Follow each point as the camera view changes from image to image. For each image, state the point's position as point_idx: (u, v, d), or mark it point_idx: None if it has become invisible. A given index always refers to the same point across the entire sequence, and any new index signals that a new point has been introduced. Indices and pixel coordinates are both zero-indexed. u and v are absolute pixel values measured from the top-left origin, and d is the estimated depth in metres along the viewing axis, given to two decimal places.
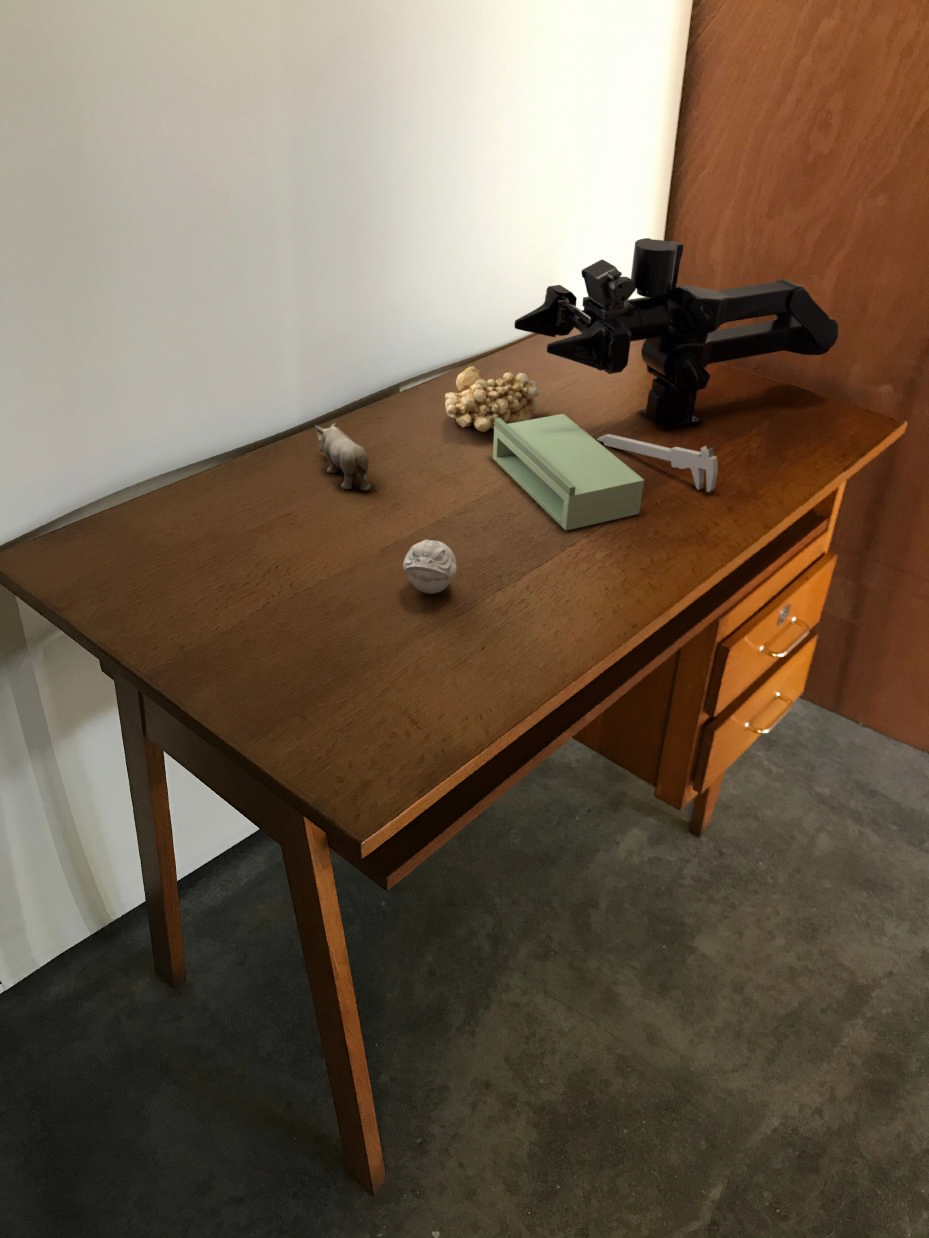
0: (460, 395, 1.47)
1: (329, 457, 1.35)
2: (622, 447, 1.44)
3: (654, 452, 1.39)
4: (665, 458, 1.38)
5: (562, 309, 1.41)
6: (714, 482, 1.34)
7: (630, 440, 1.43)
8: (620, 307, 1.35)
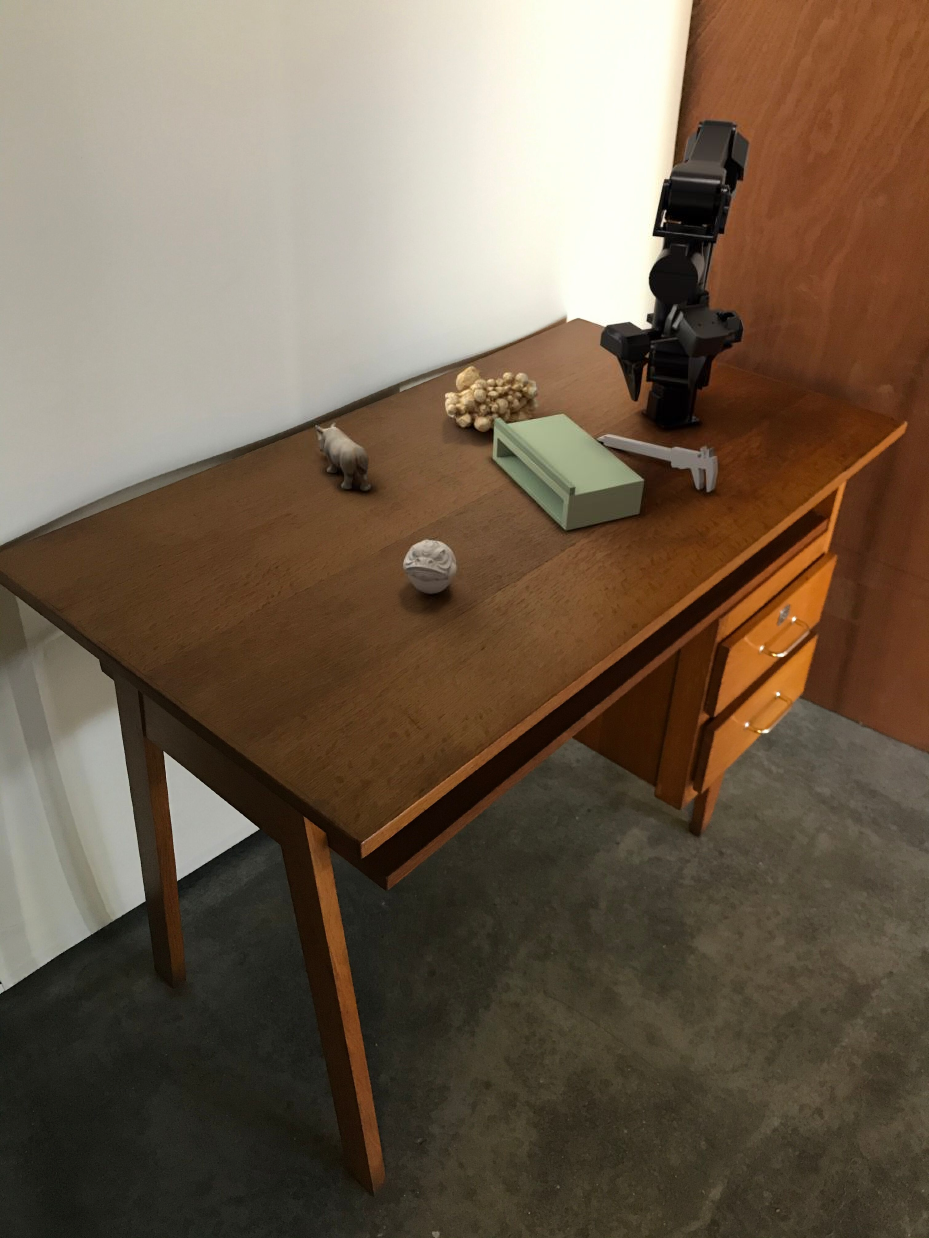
0: (460, 395, 1.47)
1: (329, 457, 1.35)
2: (622, 447, 1.44)
3: (654, 452, 1.39)
4: (665, 458, 1.38)
5: None
6: (714, 482, 1.34)
7: (630, 440, 1.43)
8: None
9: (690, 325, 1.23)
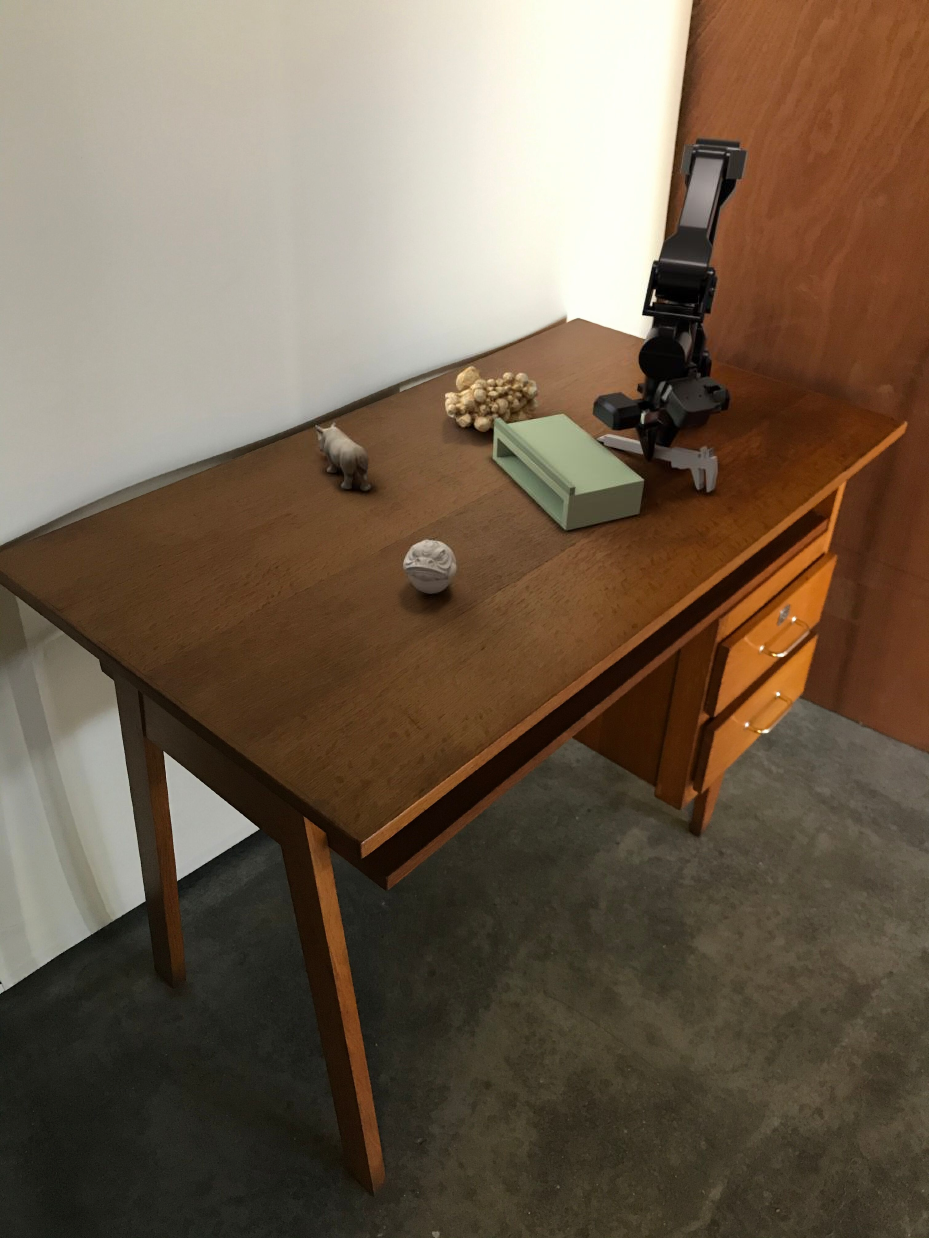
0: (460, 395, 1.47)
1: (329, 457, 1.35)
2: (622, 447, 1.44)
3: (654, 452, 1.39)
4: (665, 458, 1.38)
5: None
6: (714, 482, 1.34)
7: (630, 440, 1.43)
8: None
9: (678, 398, 1.28)
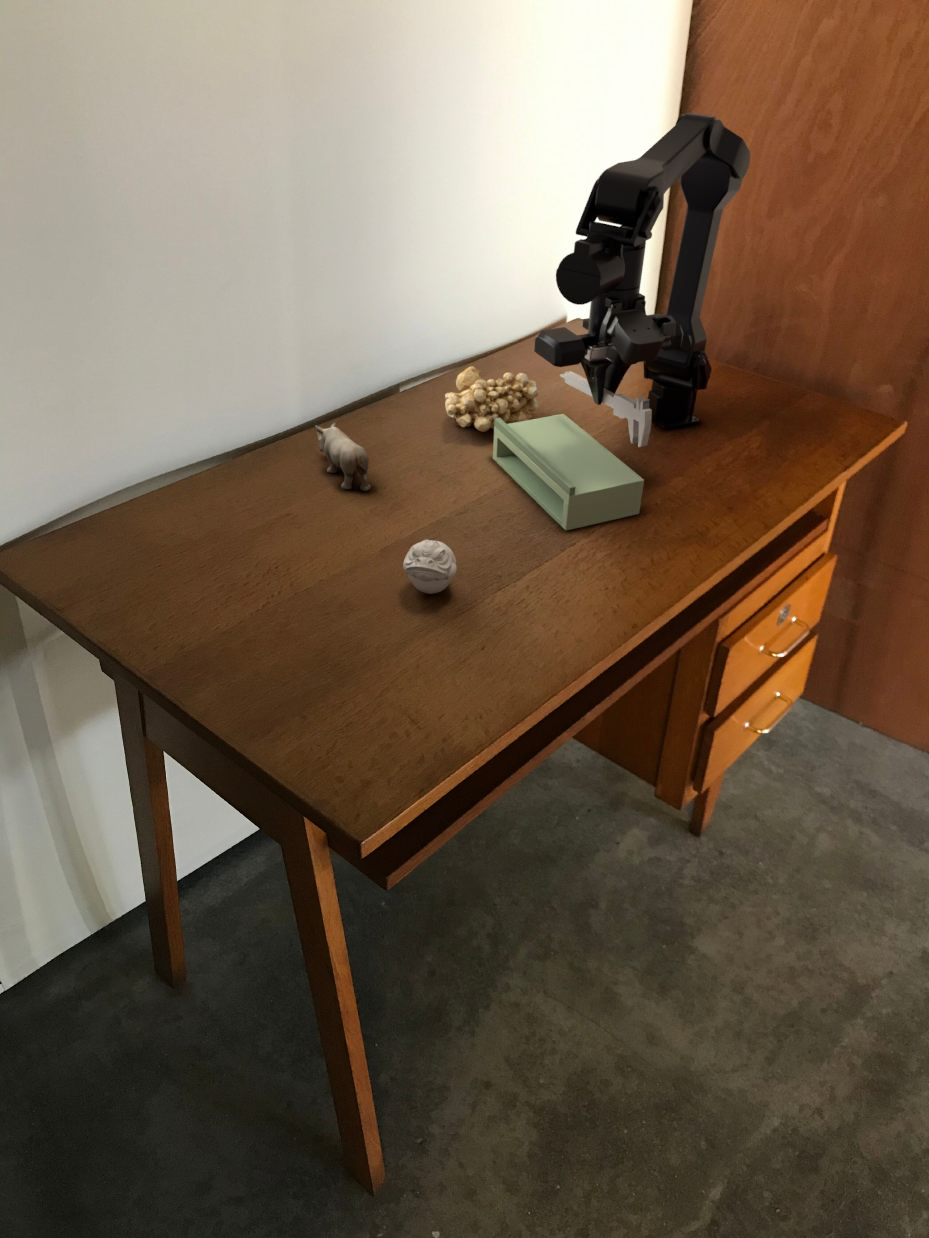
0: (460, 395, 1.47)
1: (329, 457, 1.35)
2: (578, 387, 1.35)
3: None
4: (609, 404, 1.29)
5: None
6: (646, 437, 1.24)
7: (586, 381, 1.33)
8: None
9: (625, 330, 1.19)
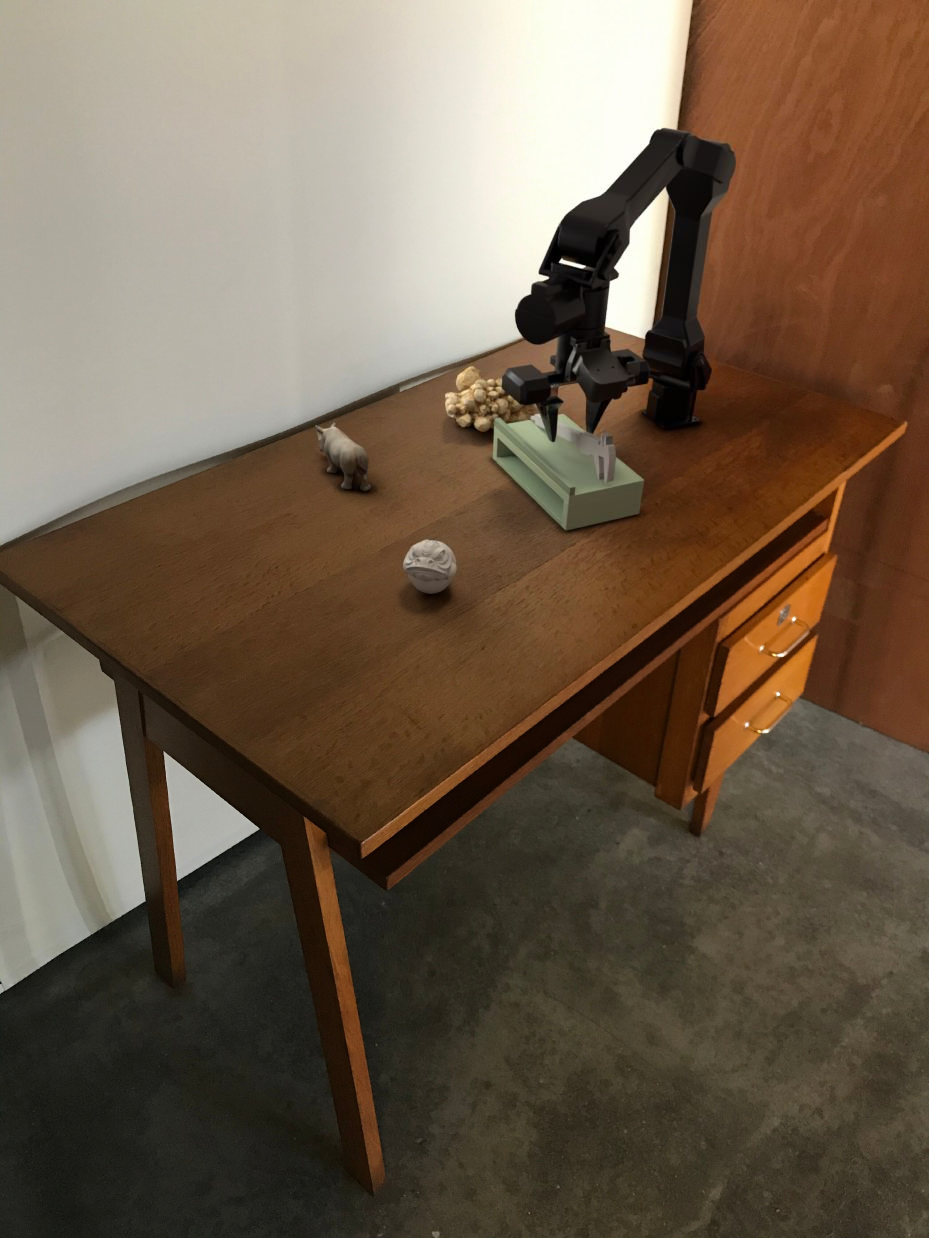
0: (460, 395, 1.47)
1: (329, 457, 1.35)
2: None
3: (568, 435, 1.32)
4: (576, 442, 1.30)
5: None
6: (612, 473, 1.25)
7: None
8: None
9: (588, 370, 1.20)
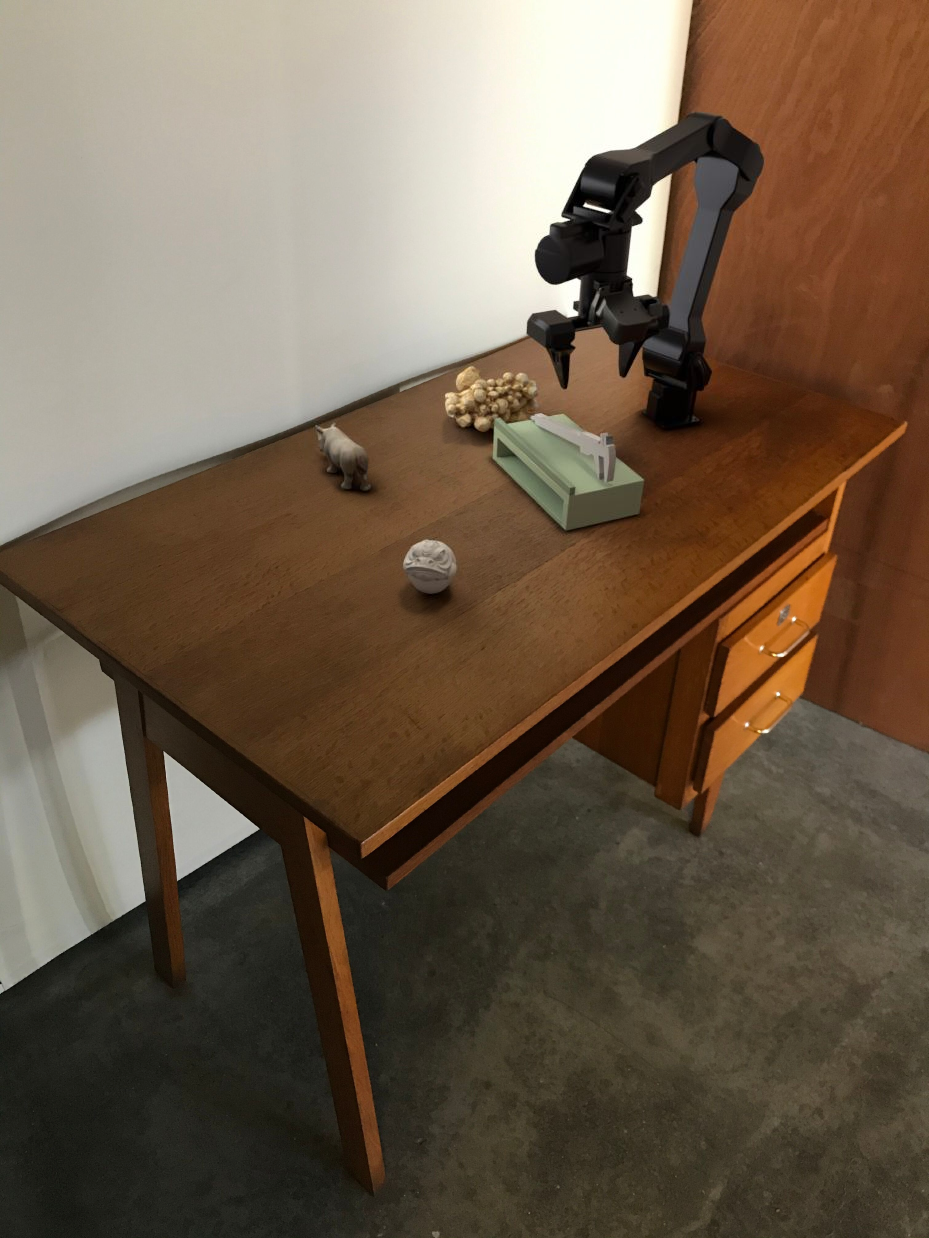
0: (460, 395, 1.47)
1: (329, 457, 1.35)
2: (547, 428, 1.37)
3: (568, 435, 1.32)
4: (576, 442, 1.30)
5: None
6: (612, 473, 1.25)
7: (554, 421, 1.35)
8: None
9: (612, 312, 1.23)
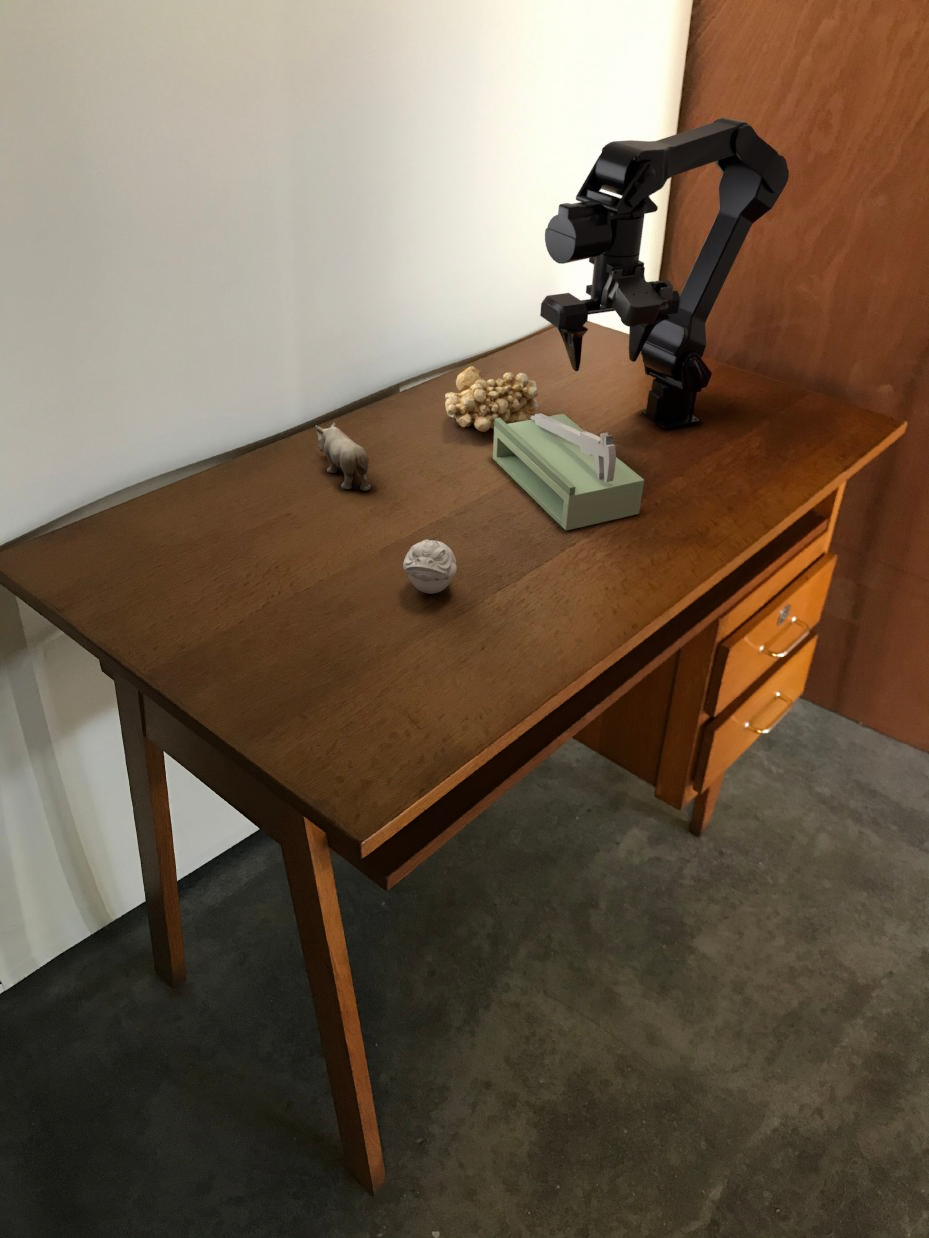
0: (460, 395, 1.47)
1: (329, 457, 1.35)
2: (547, 428, 1.37)
3: (568, 435, 1.32)
4: (576, 442, 1.30)
5: None
6: (612, 473, 1.25)
7: (554, 421, 1.35)
8: None
9: (624, 295, 1.27)
